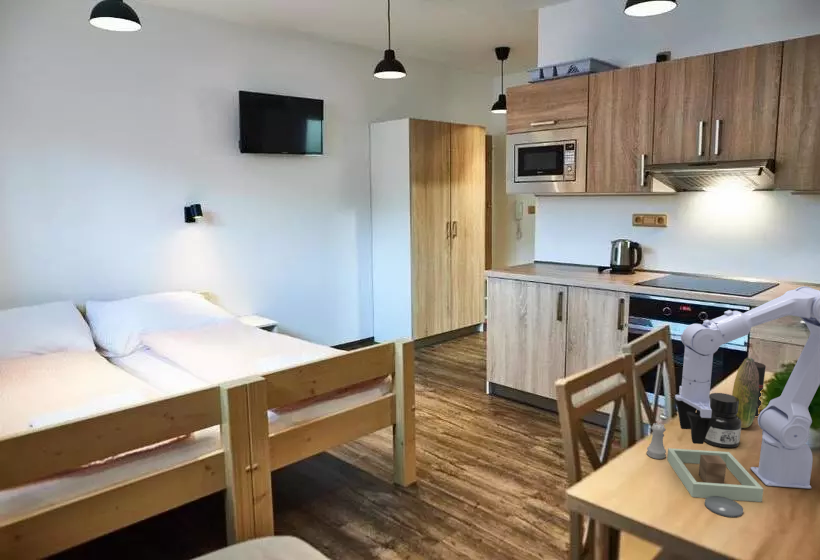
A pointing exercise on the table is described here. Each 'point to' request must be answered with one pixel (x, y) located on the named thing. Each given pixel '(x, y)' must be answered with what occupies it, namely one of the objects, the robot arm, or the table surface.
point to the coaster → (723, 506)
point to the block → (712, 469)
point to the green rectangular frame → (703, 490)
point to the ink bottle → (724, 421)
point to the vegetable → (747, 391)
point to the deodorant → (760, 382)
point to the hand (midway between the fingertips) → (691, 435)
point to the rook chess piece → (657, 442)
